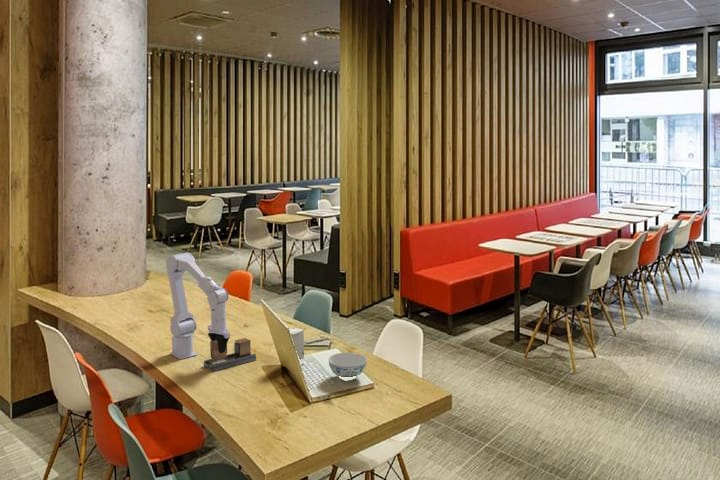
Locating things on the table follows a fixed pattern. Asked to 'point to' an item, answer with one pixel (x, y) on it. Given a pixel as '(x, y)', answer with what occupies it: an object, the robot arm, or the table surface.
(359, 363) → the chinaware
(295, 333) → the skincare box
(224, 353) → the walnut finger
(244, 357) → the rail
